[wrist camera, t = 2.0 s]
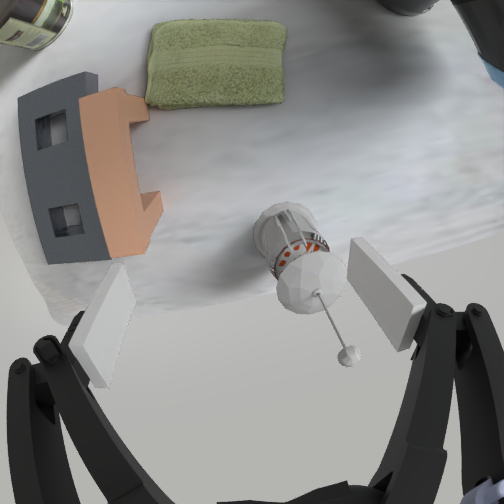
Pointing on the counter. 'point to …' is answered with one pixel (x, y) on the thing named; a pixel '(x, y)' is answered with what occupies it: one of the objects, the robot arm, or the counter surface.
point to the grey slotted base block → (60, 171)
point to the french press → (302, 265)
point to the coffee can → (33, 22)
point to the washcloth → (215, 63)
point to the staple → (118, 170)
